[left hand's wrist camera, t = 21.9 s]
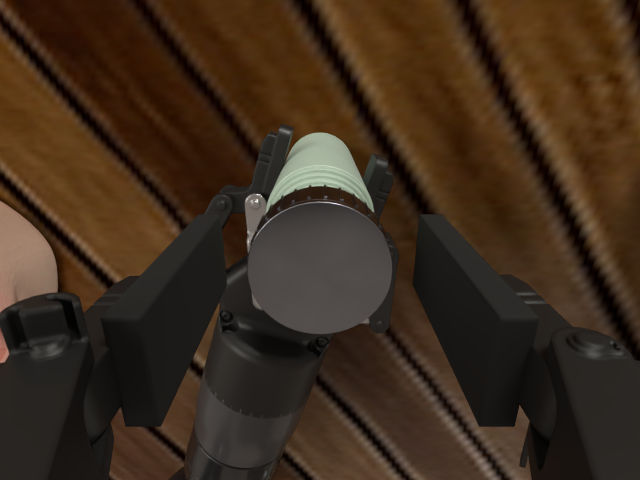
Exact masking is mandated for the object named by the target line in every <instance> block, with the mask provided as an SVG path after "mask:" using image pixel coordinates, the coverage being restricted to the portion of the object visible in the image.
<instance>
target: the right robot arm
mask: <svg viewBox="0 0 640 480" xmlns="http://www.w3.org/2000/svg"><path fill="white" fill-rule="evenodd" d="M293 130H294V127H291V126H288V125H285V124H282V125H281V126H280V128H279V131H278V133H275V132H272V131H271V132H270V133H269V134H268V135H267V136H266V138H265V139H264V140H263V142H262V145H261V149H260V153H259V156H258V160H257V164H256V168H255V172H254V176H253V180H252V183H251V184H250V185H249V186H245V187H236V186H234V185H227V186H225V187H223V188H222V190H221V191H220V193H219V194H217V195H216V196H215V197H214V198H213V199H212V201H211V203H210V205H209V206H208V208H207V210H206V212H205V214H204V215H221V225H222V230H223V228H224V226H225V224H226V223H227V221H228V219H229V217H230V215H231V214H232V213H246V221H247V230H248V235H247V247H248V253H249V250H250V246H251V245H250V242H251V240H252V237H253V235H254V233H255V231H256V228H257V226H258V224H259V222H260V220H261V218H262V216H263V215H264V216H265V213H266V206H267V202H268V199H269V197H270V195H271V192H272V190H273V188H274V186H275V184H276V182H277V179H278V177H279V175H280V173H281V171H282V168H283V166H284V163H285V159H286V155H287V152H288V148H289V145H290V141H291V138H292V134H293ZM387 167H388V160H387V159H386V158H385V157H383V156H380V155H376V154H372V156H371V158H370V161H369V163H368V166H367V169H366V172H365V174H364V177H363V182H364V184H365V186H366V189H367V191H368V193H369V195H370V197H371V200H372V203H373V208H374V212H375V213H376V215H377V217H378V220H379V218H380V216H381V213H382V210H383V208H384V205H385V203H386V200H387V198H388V195H389V192H390V190H391V187H392V185H393V174H392V173H391V172H390V170H389V169H387ZM385 233H386V235H387V237H388V240H389V241H387V242H388V245H389V247H390V249H391V251H392V260H393V275H392V281H391V285H390V288H389V291H388V293H387V295H386V297H385V299H384V300H383V302H382V304H381V305H380V306H379V307H378V309H377V310H376V311H375V312H374V313H373V314H372V315H371V316H370V317H368V318H367V319H366V320H364V321H363V322H361V323H360V324H370V328H371V330H372V331H374V332H376V333H382V332H385V331H386V330H387V329H388V327H389V322H390V315H391V308H392V301H393V293H394V286H395V279H396V272H397V265H398V258H399V252H398V250H397V248H396V246H395V244H394V242H393V239H392V237H391V235H390V234H389V233H387V232H385ZM247 256H248V255H246V256H245V257H244V258H242V259H241V260H239V261H238V262H237V263H235V264H234V265H232V266H231V267H230V268H228V269H227V270H226V278H227V286H226V288H225V290H224V293H223V295H222V297H221V299H220V301H219V303H220V310H219V314H218V318H217V322H216V326H215V329H214V333H213V337H212V341H211V345H210V349H209V353H208V356H207V360H206V364H205V367H204V372H203V376H202V380H201V384H200V388H199V392H198V397H197V406H196V417H195V421H194V425H193V429H192V432H191V436H190V440H189V444H188V448H187V453H186V457H185V464H184V467H183V468H181V469H180V470H178V471H177V472H176V473H174V474H173V475H172V476H171V477H170V478H169V480H275V478H274V476H275V473H276V471H277V467H278V465H279V462H280V460H281V457H282V454H283V452H284V449H285V447H286V444H287V442H288V441H289V439H290V437H291V436H292V434H293V432H294V431H295V429H296V427H297V425H298V422H299V420H300V418H301V415H302V413H303V410H304V407H305V405H306V402H307V400H308V397H309V394H310V392H311V389H312V387H313V384H314V382H315V379H316V376H317V374H318V371H319V369H320V366H321V364H322V361H323V358H324V356H325V353H326V351H327V348H328V345H329V343H330V340H331V338H332V337H333V335H334V334H335V333H330V334H310V333H303V332H299V331H296V330H293V329H290V328H288V327H286V326H284V325H282V324H280V323H278V322H277V321H275V320H274V319H273V318H271V317H270V316H269V315H268V314H267V313H266V312H265V311H264V310H263V309H262V308H261V307H260V305H259V304H258V302H257V301H256V299H255V298H254V296H253V294H252V291H251V289H250V286H249V283H248V277H247Z"/></svg>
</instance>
